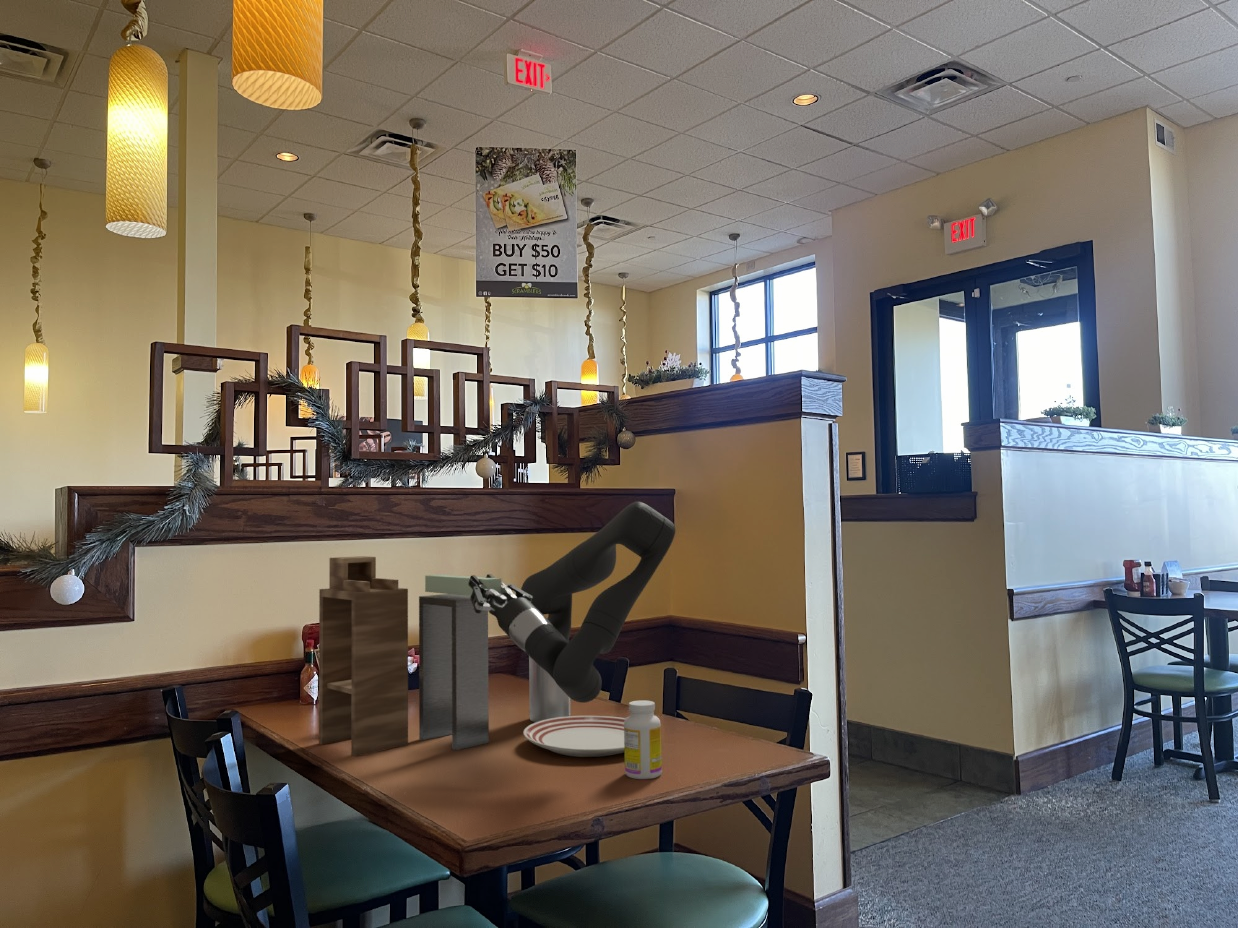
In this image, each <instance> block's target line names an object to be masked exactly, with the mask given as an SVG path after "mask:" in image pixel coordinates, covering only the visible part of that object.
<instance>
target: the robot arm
mask: <svg viewBox="0 0 1238 928" xmlns="http://www.w3.org/2000/svg"><path fill="white" fill-rule="evenodd" d="M675 535H676V526H675V524H674V523H673V521H671V520H670V519H669V518H667V517H665V516H664V515H662V513H660V512H658V511H657V510H656V509H655V508H653V507H651V506H649V505H648V504H646V503H644V502H642V501H634V502H632V503H630V504H628V505H627V506H626V507H624V508H623V509H622V510H621V511H620V512H619V513H618V514H616V516H615V517H613V518H612V519H611V520H610V521H609V522H608V523H607V524H606V525H604V527H602V528H601V529H600V530H598V531H597V532H596V533H594V534H592V536H590V537H589V538H587V539H586V540H584V541H583V542H581V543H579V544H578V545H576V547H575V546H574V548H572V549H571V550H570V551H569V552H568V553H566V554H565V555H563V556H561V557H560V558H559V559H558V560H556V561H555V562H553V563H552V564H550V565H549V566H548V567H546V568H544V569H541V570H539V571H537V572H535V573H533V574H531V575H529V576H528V577H526V579H525V580H524V581H523V583H522V586H521V588H519V587H518V586H516V585H514V584H513V583H507V584H505V583H504V582H501V594H499V593H498V592H496V591H495V590H494V589H489V588H487V587H486V586H485V585H483V583H482V582H481V581H480V580H479V579H478V578H477V577H478V576H476V575H470V580H469V583H468V585H469V586H470V587H471V588H472V589H473V592H472V595H471V597H470V599H471V602H472V604H473V607H474V610H475V612H476V613H481V611H482V610H485V611H488V614H490V615H492V616H494V617H495V619H496V620H497V624H498V626H499V628H500V629H501V630H502V631H503V632H504V633H505V634H506V636H508V638H509V639H510V640H511V641H512V642H514V643H515V645H516V646H518V647H519V649H521V651H523V652H525V653H526V654H527V655H528V661H529V662H528V663H529V664H528V665H529V666H528V668H529V669H528V670H529V671H528V675H529V676H528V678H529V682H528V684H529V686H528V687H529V689H528V690H529V692H528V693H529V712H528V713H529V720H530V721H531V722H533V723H536V722H539V721H542V720H546V719H551V718H558V717H568V716H571V700H572V701H574V702H577V703H581V704H582V703H589V702H591V701H593V700H595V699H596V698H597V697H599V694H600V693H601V690H602V682H603V681H602V676H601V674H600V673H599V672H600V671H599V670H598V669H597V668H596V666H595V665H594V662H595V660H596V659H597V657H598V656H599V654H601V655H604V654H605V655H606V654H608V653H609V652H611V650H612V649H613V647H614V645H615V643H616V642H617V639H618V637H619V635H620V633H621V631H622V628H623V627H624V625H625V622H626V620H627V618H628V616H629V614H630V612H631V611H632V609H633V607H634V605H635V603H636V602H637V600H638V599H639V597H640V595H641V594H642V592H643V591H644V589H645V588H646V586H647V585H648V583H649V582H650V580H651V579H652V577H653V576H654V573H655V572H656V571H657V569H658V567H659V566H660V564H661V563H662V561H663V559H664V558H665V556H666V554H667V553H668V551H669V550H670V547H671V546H672V543H673V541H674V538H675V537H676V536H675ZM617 545H622V546H624V548H626V549H628V550H630V551H631V552H633V554H635V555H636V556H638V557H640V560H639V562H638V564H637V565H636V567H635V568H634V569H633V570H632V571H631V573H630V574H628V575H627V576H626V577H624V578H623V579H621V580H620V581H617V582H616V583H614V584H612V585H611V586H609V587H607V588H606V589H604V590H602V591H601V592H600V593H599V594H598V595H597V596H596V597H595V598H594V600H593V602H592V603H591V605H590V607H589V609H588V611H587V613H586V615H585V617H584V619H583V621H582V623H581V625H580V628H579V630H578V631H577V633H575V634H574V635H573V637H572V638H571V639H570V635H571V630H572V612H573V594H575V593H579V592H583V591H586V590H589V589H592V588H594V587H595V586H597V585H599V584H601V583H602V582H604V581H606V580H607V579H608V578H610V576H611V575H612V574H613V572H614V570H615V567H616V564H617V563H616V562H617ZM486 578H496V577H495V576H493V574H490V573H488V574H487V575H486ZM483 592H485V593H486V594H485V596H484V595H483ZM514 592H515V593H514ZM545 615H547V616H545Z"/></svg>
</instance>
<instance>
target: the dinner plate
mask: <svg viewBox="0 0 1238 928" xmlns="http://www.w3.org/2000/svg"><path fill="white" fill-rule="evenodd" d="M626 718H627V717H618V716H611V715H610V716H607V715H570V716H568V717H558V718H551V719H546V720H542V721H539V722H533V723H531V724H529V725H528V726H526V727H525V728H524V729H523V732H522V734H523V736H524V738H526V739H527V740H528V741H529V742H530V743H532V744H533V745H536V746H538V747H540V748H543V749H545V750H549V751H551V752H553V753H556V754H560V755H565V756H568V757H569V756H570V757H579V758H580V757H583V758H585V757H588V758H590V757H591V758H592V757H607V756H613V755H618V754H623V753H625V750H624V721H625V719H626Z"/></svg>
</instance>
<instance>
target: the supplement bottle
mask: <svg viewBox="0 0 1238 928" xmlns="http://www.w3.org/2000/svg"><path fill="white" fill-rule="evenodd" d="M655 709H656V704H655V702H654V701H652V700H641V699H640V700H633V701H630V702H628V710H629V713H630V714H629V716H627V717H625V718H626V719H625V721H624V750H625V752H624V772H625V775H626V776H627V777H628V778H631V779H634V780H650V779H656V778H658V777H660V776H661V774H662V771H663V770H662V766H663V765H662V730H661V728H662V726H661V720H660V718H659V717H658V716H657V715H655V713H654V712H655Z"/></svg>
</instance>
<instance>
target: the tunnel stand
mask: <svg viewBox="0 0 1238 928" xmlns="http://www.w3.org/2000/svg"><path fill="white" fill-rule="evenodd" d="M376 562H377V559H376V556H366V555H365V556H364V555H362V556H361V555H359V556H358V555H357V556H338V557H329V562H328V563H329V564H328V565H329V569H328V570H329V571H328V572H329V577H328V578H329V581H328V582H329V584H328V585H329V588H319V589H318V590H319V592H318V593H319V595H318V596H319V598H318V599H319V600H318V601H319V605H318V606H319V607H318V609H319V618H318V619H319V621H318V623H319V624H318V625H319V628H318V630H319V631H318V633H319V635H318V638H319V639H318V643H319V644H318V651H319V652H318V655H319V656H318V662H319V663H318V684H319V685H318V744H319V745H321V746H322V745H326V744H331V743H332V744H333V743H336V742H343V741H346V740H351V744H350V745H351V746H350V747H351V748H350V750H351V752H350V753H351V756H354V757H357V756H362V755H367V754H371V753H372V754H373V753H376V752H381V751H384V750H385V751H386V750H390V749H394V748H399V747H403V746H408V745H409V588H403V587H399V579H393V578H392V579H391V578H379V577H377V575H376V574H377V572H376V571H377V568H376V567H377V566H376V565H377V564H376Z"/></svg>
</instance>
